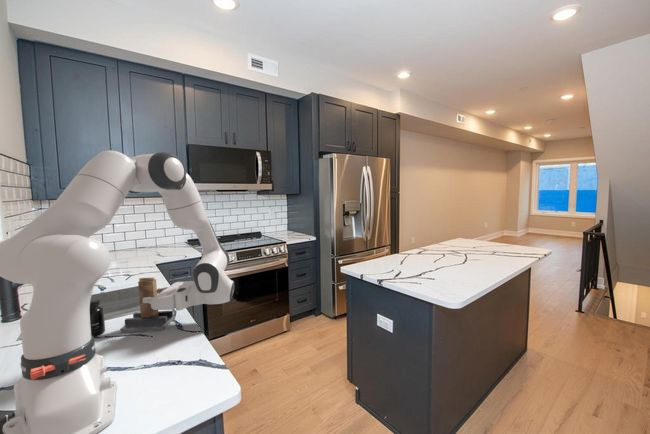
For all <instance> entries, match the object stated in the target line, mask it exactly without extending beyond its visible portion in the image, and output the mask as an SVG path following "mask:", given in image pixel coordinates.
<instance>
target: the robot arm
mask: <svg viewBox="0 0 650 434" xmlns="http://www.w3.org/2000/svg"><path fill="white" fill-rule="evenodd" d="M194 182H195V181H194V180H193V179H192V177H191V176H190V175H189V174H188V172H187V170H186V167H185V165H184V163H183V161H182V160H181V159H180V158H179V157H178V156H177V155H176V154H174V153H172V152H171V153H170V152H165V151H164V152H156V153H146V154H140V155H139V154H138V155H135V156H132V157H129V156H128V155H126V154H125V153H122V152H120V151H117V150H112V149H111V150H109V149H108V150H103V151H101V152H99V153H97V155H95V156H93V158H91V159H89V161H88V162H87V163H86V164H85V165H84V166H83V167H82V168H81V169H80V170H79V171H78V173H77V174H75V176H74V177H73V179H71V181H70V182H69V184H68V185H67V186H66V187H65V189H64V190H63V192H62V193H60V195H59V196H58V197H57V199H56V200H55V201H54V202H52V204H50V206H49V207H47V208H46V210H44V211H43V212H42V213H41V214H39V215H38V216H37V217H36V218H34V219H33V220H32V221H31V222H30V223H28V224H27V225H25V227H24V228H22V229H21V230H20V231H18V232H17V233H16V234H14V235H13V236H10V237H9V238H7V239H5V240H3V241H1V242H0V278H3V279H4V280H7V281H9V282H12V283H15V284H21V285H31V286H32V288H33V289H32V291H33V292H32V298H31V303H30V306H29V309H28V310H27V311H25V313H24V314H23V315H22V316H21V318H20V322H19V327H20V336H21V344H22V353H23V354H22V355H21V356H20V369H21V374H22V377H21V378H20V379H19V380H18V381H17V382H15V384H13V392H14V395H13V396H14V401H15V402H14V405H15V410H13V413H12V415H13V416H12V418H10V419H9V420H8V421H6V422H5V423H4V424H3V425H2V433H3V434H98V433H99V432H101V431H102V430H105V428H106V427H108V426H109V425H111V424H112V423H113V422H114V419H115V411H116V400H117V389H118V384H117V381H114V380H112V381H111V377H106V376H105V375H106V373H107V372H108V366H107V365H104V364H105V363H104V356H103V355H101V354H98V353H96V352H97V351H96V341H95V337H93V336H92V335H91V326H90V300H91V299H92V294H93V291H94V289H95V286H96V284H97V282H98V281H99V280H100V279H101V278H102V277H103V276H104V275H105V274H106V273H107V271H108V269H109V267H110V264H111V263H110V262H111V255H110V251H109V249H108V247H107V246H106V245H105V244H104V243H103V242H101V241H99V240H97V239H94V238H91V236H93V235H94V234H96V233H97V232H98V231H101V230H103V229H104V228H106V227H107V226H108V225H109V224H110V223H111V221H112V220H113V218H114V217H115V215H116V213H117V212H118V210H119V208H121V207H120V206H121V205H122V204H123V202H124V200H125V199H126V198H127V196H128V194H129V193H133V194H140V193H155V192H157V193H158V194H159V195H161V197H162V200H163V203H164V206H165V208H166V212H167V214H168V216H169V218H170V220H171V222H172V223H173V225H174V226H175V227H177V228H180V229H182V230H185V231H186V230H187V231H188V230H189V231H190V230H191V231H193V232H194V233H195V235H196V237H197V238H198V241H199V243H200V246H201V247H202V257H201V259H200V260H199V261H198V262H197V264H196V265H195V267H194V269H193V271H192V278H193V280H189V281H176V282H174V283H172V284H171V285H169V286H165V287H158V288H157V295H156V296H155V297H153V298H151V297H145V298H143V303H149V304H151V308H152V309H154V310H158V311H172V310H175V311H182V310H183V311H184V310H185V309H186V308H189V307H192V306H200V305H203V304H204V305H221V304H225V303H228V302H230V301H231V300H232V298H233V295H234V292H235V288H236V287H235V281H234V280H232V279H231V278H229V276H228V275H227V274H226V272H225V270H226V268H227V267H228V266H229V264H230V261H231V260H230V256H229V253H228V251H227V250H226V249H225V248H224V247H223V246H222V244H221V243H220V241H219V239H218V237H217V235H216V232H215V230H214V227H213V225H212V223H211V221H210V219H209V216H208V214H207V211H206V210H205V206H204V203H203V201H202V197H201V195H200V193H199V190H198V188H197V186H196V184H195V183H194Z"/></svg>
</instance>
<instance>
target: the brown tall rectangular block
mask: <svg viewBox="0 0 650 434" xmlns="http://www.w3.org/2000/svg"><path fill="white" fill-rule="evenodd" d="M138 279H139V280H138V281H137V284H138V297H139V298H138V299H139V300H138V301H139V312H140V313H141V318H143V317H159V313H158V311H159V310H154V309H152V308H151V304H149V303H143V298H145V297H151V298H153V297H155V296H156V295H158V294H157V289H158V288H157V279H156V277H155V276H154V277H153V276H152V277H140V278H138Z"/></svg>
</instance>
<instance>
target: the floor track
mask: <svg viewBox="0 0 650 434" xmlns="http://www.w3.org/2000/svg"><path fill="white" fill-rule="evenodd" d="M158 313H159V317H143V318H141V313H140V311H139V312H138V311H137V312H134V313H132V318H131V317H130V318H125V319H124V325H123V326H122V327H121V328H120V330H119V331H120V334H128V333H141V332H142V333H145V332H159V331H161V332H162V331H163V330H165V329H166V328H167V327H168V326H167V325H168V324H169V325H170V324H171V323H172V322H173V321H174V320H175V318H176V315H175V313H174V310H158ZM170 322H171V323H170ZM166 326H167V327H166ZM165 327H166V328H165ZM164 328H165V329H164Z"/></svg>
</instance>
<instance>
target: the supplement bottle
mask: <svg viewBox="0 0 650 434" xmlns="http://www.w3.org/2000/svg"><path fill="white" fill-rule="evenodd" d="M100 302H101V301H100V298H91V300H90V326H91V335H92V336H93V337H94V338H97V337H99V336H101V335H103V334H104V333H105V332H106V322H105V309H104V307H103V306H102V305H101V303H100Z"/></svg>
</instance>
